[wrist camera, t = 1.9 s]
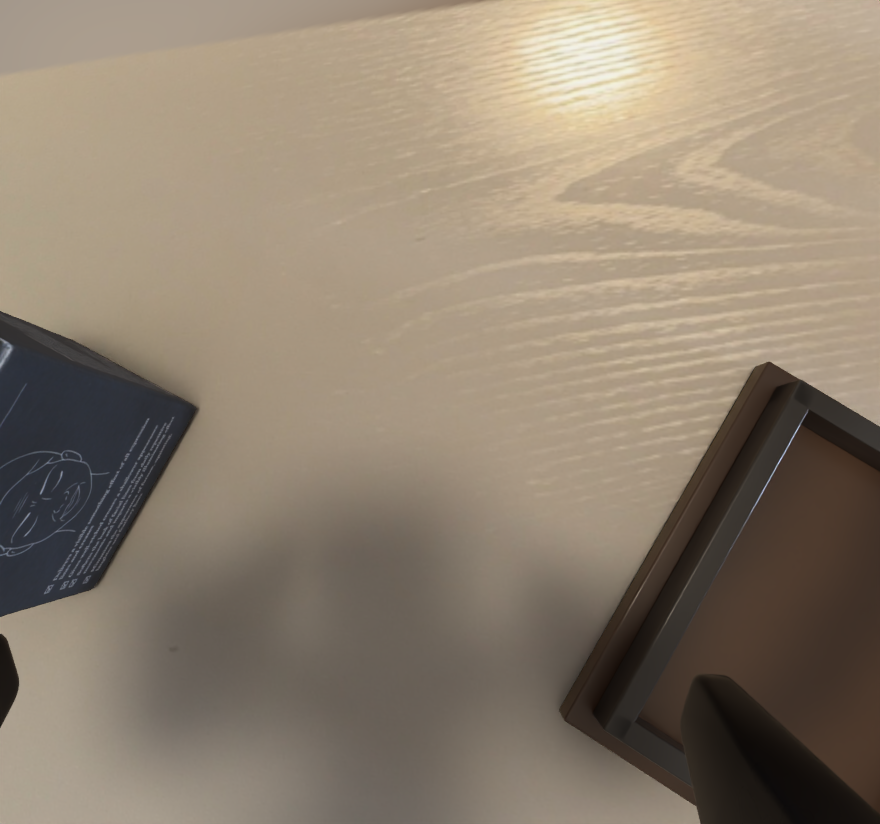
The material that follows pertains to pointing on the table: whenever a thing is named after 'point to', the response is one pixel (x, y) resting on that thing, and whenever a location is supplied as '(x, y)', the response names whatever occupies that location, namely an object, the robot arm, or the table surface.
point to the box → (71, 460)
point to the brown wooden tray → (756, 592)
